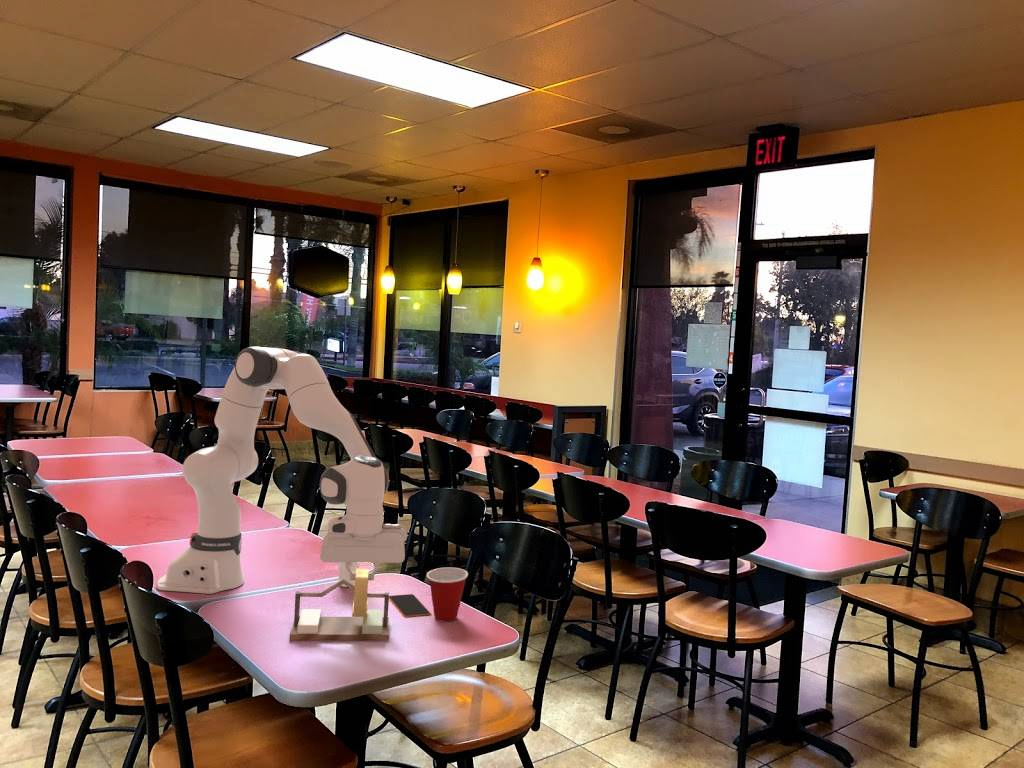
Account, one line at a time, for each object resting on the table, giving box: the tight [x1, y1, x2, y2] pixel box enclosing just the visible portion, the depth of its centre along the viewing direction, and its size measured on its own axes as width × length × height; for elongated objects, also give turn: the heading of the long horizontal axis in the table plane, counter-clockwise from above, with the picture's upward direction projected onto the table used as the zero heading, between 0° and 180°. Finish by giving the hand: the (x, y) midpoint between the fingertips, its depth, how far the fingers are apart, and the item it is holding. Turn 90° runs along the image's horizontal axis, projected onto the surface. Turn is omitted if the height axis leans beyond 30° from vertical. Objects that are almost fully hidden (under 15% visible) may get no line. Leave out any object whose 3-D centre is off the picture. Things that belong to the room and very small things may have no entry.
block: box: [297, 608, 322, 634], centre depth 197 cm, size 5×11×2 cm, turn 9°
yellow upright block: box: [351, 568, 370, 617], centre depth 198 cm, size 4×9×9 cm, turn 9°
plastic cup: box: [426, 566, 469, 622], centre depth 212 cm, size 11×11×12 cm
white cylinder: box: [337, 562, 361, 588], centre depth 233 cm, size 7×7×15 cm
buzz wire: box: [288, 579, 390, 642], centre depth 198 cm, size 23×12×13 cm, turn 99°
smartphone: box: [389, 593, 432, 618], centre depth 220 cm, size 8×17×1 cm, turn 24°
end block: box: [362, 609, 383, 634], centre depth 199 cm, size 5×11×2 cm, turn 9°
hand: (361, 579), depth 198 cm, fingers closed on yellow upright block, 3 cm apart
